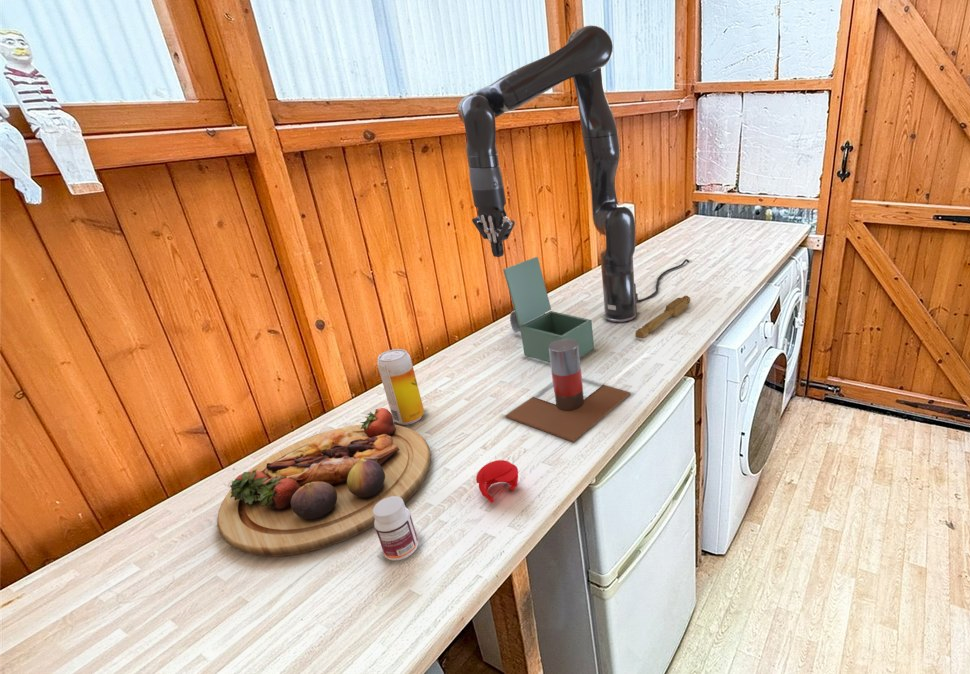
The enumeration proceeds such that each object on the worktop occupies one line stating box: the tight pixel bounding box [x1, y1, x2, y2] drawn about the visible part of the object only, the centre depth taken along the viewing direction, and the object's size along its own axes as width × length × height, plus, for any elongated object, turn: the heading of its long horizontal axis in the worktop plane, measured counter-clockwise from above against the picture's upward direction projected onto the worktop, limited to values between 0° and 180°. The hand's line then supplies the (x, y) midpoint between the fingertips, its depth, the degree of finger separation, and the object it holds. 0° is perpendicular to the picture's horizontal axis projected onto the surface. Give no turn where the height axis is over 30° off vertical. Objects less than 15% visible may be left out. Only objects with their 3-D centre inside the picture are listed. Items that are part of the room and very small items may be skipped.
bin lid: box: [502, 256, 552, 325], centre depth 132 cm, size 14×12×4 cm
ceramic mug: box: [509, 310, 546, 334], centre depth 147 cm, size 11×8×8 cm
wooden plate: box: [216, 407, 432, 557], centre depth 89 cm, size 32×32×8 cm
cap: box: [475, 459, 519, 504], centre depth 86 cm, size 8×6×6 cm
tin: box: [549, 339, 585, 411], centre depth 108 cm, size 6×6×14 cm
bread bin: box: [520, 310, 595, 364], centre depth 132 cm, size 14×12×9 cm
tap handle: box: [634, 295, 691, 339], centre depth 151 cm, size 3×3×30 cm
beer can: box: [376, 348, 425, 426], centre depth 106 cm, size 6×6×15 cm
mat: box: [505, 384, 631, 443], centre depth 111 cm, size 20×18×1 cm
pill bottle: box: [373, 496, 419, 561], centre depth 75 cm, size 5×5×8 cm
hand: (498, 256), depth 132 cm, fingers closed
